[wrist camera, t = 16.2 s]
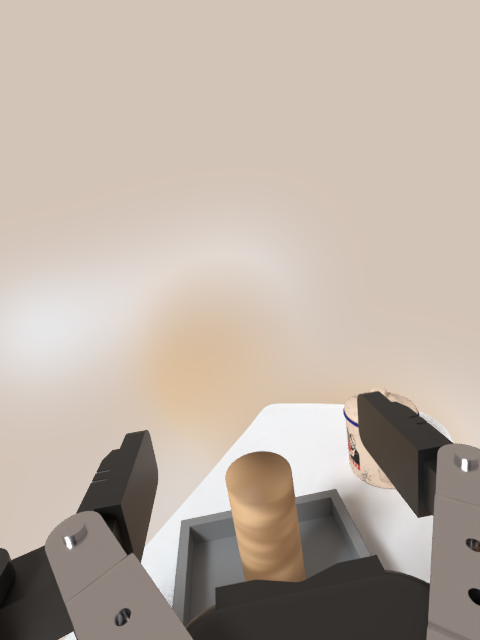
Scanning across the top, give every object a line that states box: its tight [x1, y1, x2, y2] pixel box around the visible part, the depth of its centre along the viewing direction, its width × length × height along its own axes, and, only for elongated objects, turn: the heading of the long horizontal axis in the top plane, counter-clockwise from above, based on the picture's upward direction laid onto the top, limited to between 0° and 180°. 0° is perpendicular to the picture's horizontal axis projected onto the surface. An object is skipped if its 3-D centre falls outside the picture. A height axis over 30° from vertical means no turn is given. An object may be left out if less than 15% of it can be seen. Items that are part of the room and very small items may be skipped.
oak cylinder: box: [226, 451, 306, 582], centre depth 27 cm, size 5×5×14 cm
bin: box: [172, 489, 371, 627], centre depth 29 cm, size 18×18×4 cm
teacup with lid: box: [343, 387, 419, 489], centre depth 42 cm, size 12×9×12 cm
